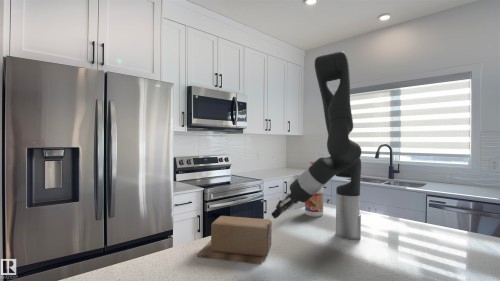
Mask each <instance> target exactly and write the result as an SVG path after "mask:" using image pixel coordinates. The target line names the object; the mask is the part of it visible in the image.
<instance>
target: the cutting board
mask: <svg viewBox="0 0 500 281" xmlns="http://www.w3.org/2000/svg"><path fill="white" fill-rule="evenodd" d="M196 258H204V259H212V260H220V261H230V262H237V263H246V264H247V263H248V264H253V265H254V264H256V265H262V264H263V260H264V258H265V257H262V256H253V255H244V254H234V253H225V252H216V251H212V250H211V239H210V240H209V242H207V243H206V245H204V247H203V248H202V249H200V251H199V252H197V253H196Z"/></svg>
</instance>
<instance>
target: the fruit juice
mask: <svg viewBox="0 0 500 281" xmlns="http://www.w3.org/2000/svg"><path fill="white" fill-rule="evenodd" d="M315 161H316V160H315ZM315 161H314V160H313V161H311V160H310V161H309V167H310V166H311V165H312V164H313V163H314V162H315ZM304 213H305V215H307V216H309V217H314V218H315V217H316V218H318V217H322V216H323V215H324V186H323V187H322V188H321V189H320V190H319V191H318V192H317V193H316V194H315V195H314V196H312V197H311V198H310V199H309V200H308V201H307V202H305V203H304Z"/></svg>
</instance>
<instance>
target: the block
mask: <svg viewBox="0 0 500 281" xmlns="http://www.w3.org/2000/svg"><path fill="white" fill-rule="evenodd" d="M272 224H273V223H272V220H271V219H270V218H269V219H267V218H254V217H242V216H241V217H240V216H229V215H220V216H219V217H217V218H216V219H215V220H214V221H213V222H212V223H211V224H210V226H211V228H210V229H211V230H210V240H211V250H212V251H216V252H225V253H234V254H244V255H253V256H262V257H264V258H266V257H268V255H269V252H270V249H271V247H272Z"/></svg>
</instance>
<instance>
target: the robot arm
mask: <svg viewBox="0 0 500 281" xmlns="http://www.w3.org/2000/svg"><path fill="white" fill-rule="evenodd" d="M314 71H315V76H316V79H317V83H318V87H319V91H320V96H321V101H322V102H321V103H322V107H323V114H324V120H325V125H326V131H327V132H326V133H327V139H326V148H327V152H328V154H329V155H330V156H328V157H319V158H317V160H315V162H314V163H313V164H312V165H311V166H310V165H309V167H308V168H307V169H305V170H304V171H303V172H302V173H301V174H300V175H299V176H298V177H297V178H295V179H294V181H292V182H291V184H289V191H290V193H287V194H286V195H285V196H284V197H283V198H282V199H281V200H279V201H278V203H277V204H276V206H275V209H274V211H272V212H271V213H270V214H271V217H272V218H274V219H277V218H279V217H280V216H281V215H282V214H283V213H285V212H286V211H288V210H290V209H291V208H293V207H294V206H295V205H297V204H299V202H300V203H304V204H305V202H307V201H308V200H309V199H310V198H311V197H312V196H314V195H315V194H316V193H317V192H318V191H319V190H320V189H321V188H322V187H323V188H324V186H325V185H326V184H327V183H328V182H329V181H330V180H332V179H333V177H334V176H336V177H339V178H346V179H350V181H349V182H348V183H345V184H341V185H338V186H336V189H335V191H336V192H335V194H336V195H335V208H336V209H335V235H336V236H337V237H339V238H342V239H346V240H358V239H359V240H360V239H361V237H362V236H361V234H362V232H361V231H362V227H361V226H362V224H361V222H362V216H361V213H360V212H361V177H362V176H361V175H362V160H361V156H362V147H361V146H360V145H359V144H358V143H357V142H355V141H354V140H352V139H350V137H349V135H350V134H351V132H352V131H353V130H354V122H353V115H352V109H351V107H352V106H351V77H350V76H351V75H350V64H349V59H348V56H347V54H346V52H345V51H342V50H341V51H336V52H332V53H327V54H323V55H319V56H317V57H315V60H314ZM337 80H339V85H338V87H337V89H336V91H335V93H334V92H333V91H332V89H331V87H330V86H329V83H328V82H333V81H337Z"/></svg>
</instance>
